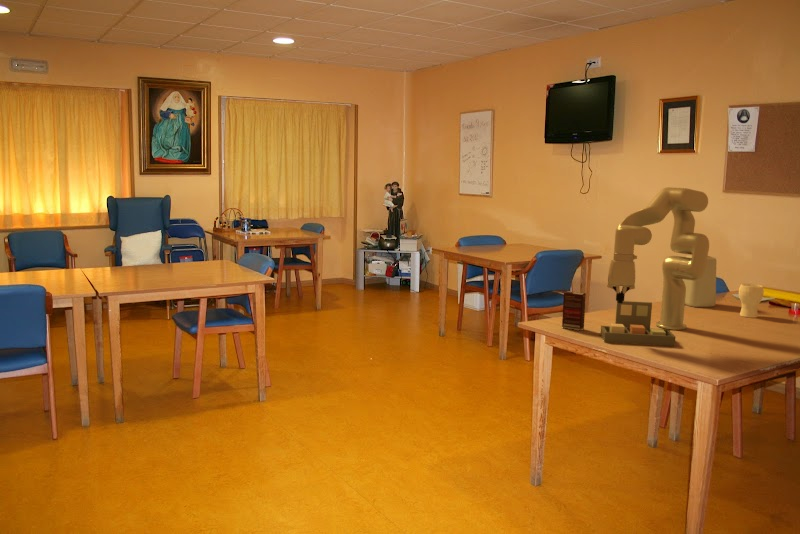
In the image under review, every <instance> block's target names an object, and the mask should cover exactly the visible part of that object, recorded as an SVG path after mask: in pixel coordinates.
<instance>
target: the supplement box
mask: <svg viewBox="0 0 800 534" xmlns="http://www.w3.org/2000/svg"><path fill="white" fill-rule="evenodd" d="M586 295H587V293H586V292H579V291H569V290H567V291H564V292H563V299H562V301H563V303H562V318H561V319H562V322H561V328H562V327H563V328H562V329H565V328H568V329H567V330H572V329H574V330H575V331H579V330H580V331H583V330H584V329H585V317H586V316H585V315H586V298H587V297H586ZM582 329H583V330H582Z"/></svg>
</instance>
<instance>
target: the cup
mask: <svg viewBox="0 0 800 534" xmlns="http://www.w3.org/2000/svg"><path fill="white" fill-rule="evenodd" d="M764 293H765V292H764V285H761V284H754V283H741V284H740V285H739V288H738V297H739V300H740V302H741V303H740V304H741V309H740V312H739V315H740V316H741V317H743V318H752V319H754V318H758V317H759V314H758V309H759V308H758V306H759V304H760V303H761V301H762V300H763V297H764Z"/></svg>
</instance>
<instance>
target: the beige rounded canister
mask: <svg viewBox="0 0 800 534" xmlns="http://www.w3.org/2000/svg"><path fill="white" fill-rule="evenodd" d="M685 257H687V258H692V255H689V254H687V255H685ZM683 281H684V283H685V286H686V297H685V305H686V306H688V307H691V308H712V307H715V306H716V304H717V297H716V296H717V258H716V257H713V256H709V255H708V257H707V262H706V267H705V272H704V275H703V277H702V278H701V279H700V280H698V281H692V280H686V279H683Z"/></svg>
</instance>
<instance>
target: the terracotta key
mask: <svg viewBox="0 0 800 534" xmlns="http://www.w3.org/2000/svg"><path fill="white" fill-rule="evenodd" d="M630 334H645V327H644V326H643V325H630Z"/></svg>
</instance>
